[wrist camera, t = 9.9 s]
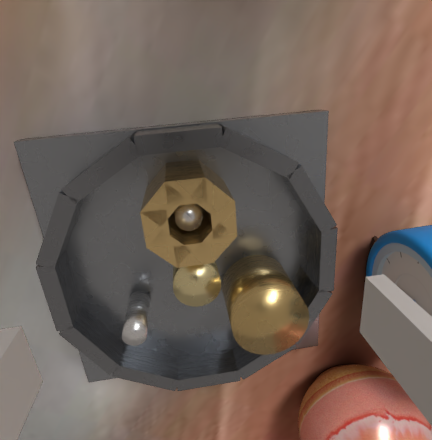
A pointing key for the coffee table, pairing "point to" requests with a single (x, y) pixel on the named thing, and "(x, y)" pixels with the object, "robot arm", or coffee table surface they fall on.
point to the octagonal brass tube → (184, 195)
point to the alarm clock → (405, 262)
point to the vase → (359, 407)
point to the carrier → (186, 220)
